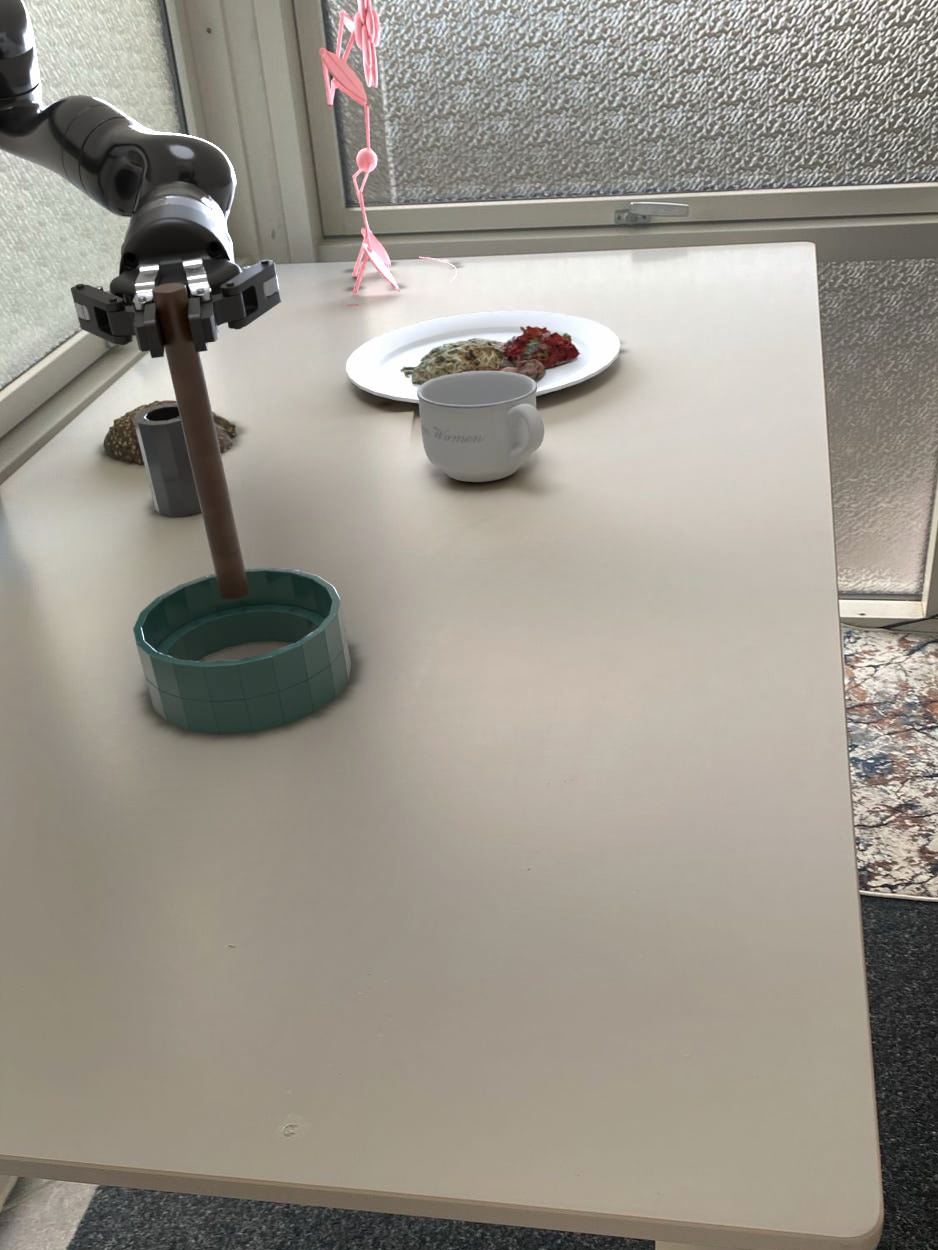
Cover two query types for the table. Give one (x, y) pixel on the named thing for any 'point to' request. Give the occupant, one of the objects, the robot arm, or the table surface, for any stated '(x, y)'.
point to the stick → (201, 439)
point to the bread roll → (126, 444)
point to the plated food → (484, 351)
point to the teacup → (479, 423)
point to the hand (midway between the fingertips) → (175, 337)
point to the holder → (167, 461)
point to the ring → (252, 685)
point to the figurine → (367, 39)
